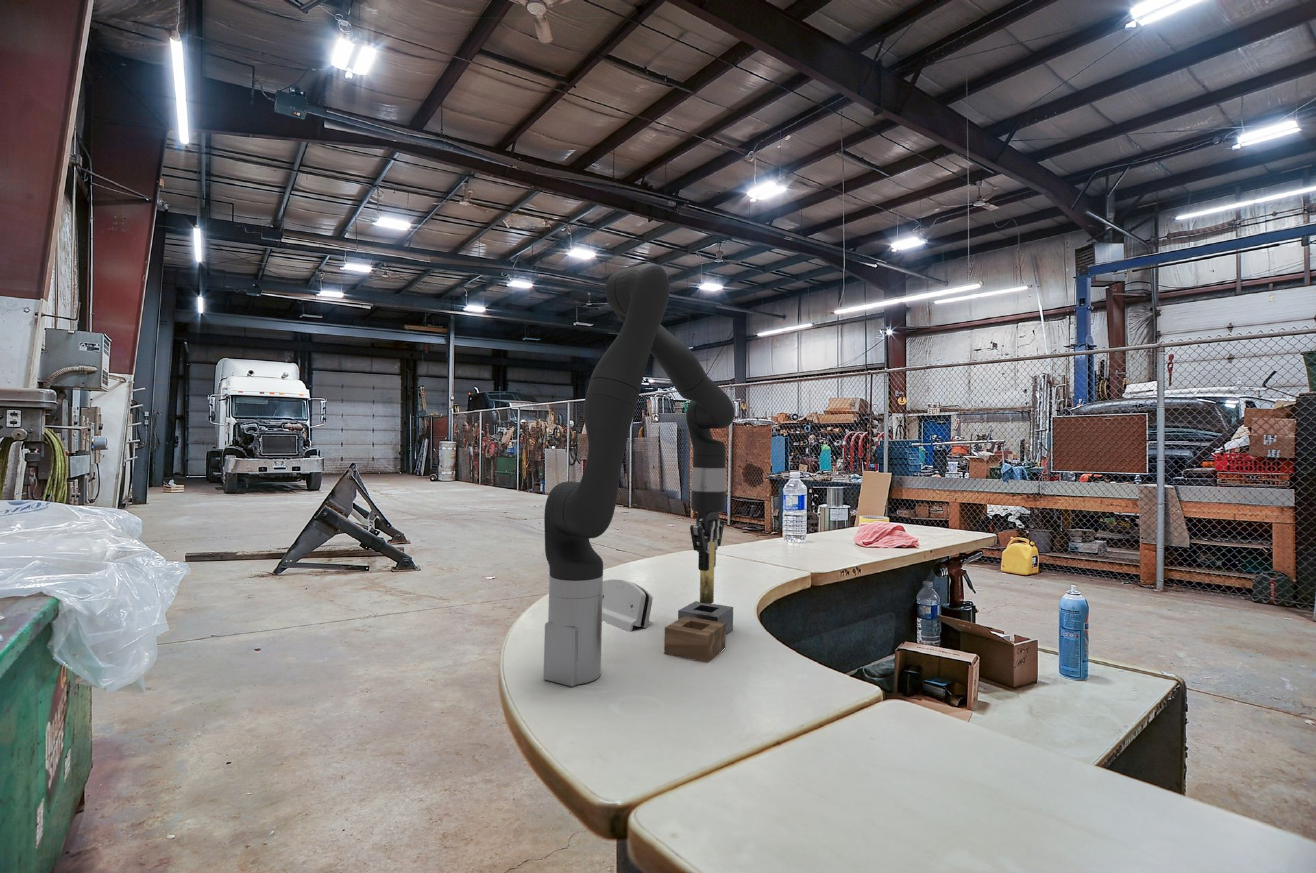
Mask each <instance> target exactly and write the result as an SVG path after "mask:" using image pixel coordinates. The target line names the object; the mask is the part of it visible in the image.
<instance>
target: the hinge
mask: <svg viewBox="0 0 1316 873" xmlns="http://www.w3.org/2000/svg"><path fill="white" fill-rule="evenodd" d="M653 599H654V597H653V595H651V593H650V592H648V591H647V590H646V589H645V588H644V587H642V586H640V585H638V584H636V583H634V582H631V581H629V580H624V579H606V580H603V593H602V622H603V621H605V622H606V624H608V625H610V624H611V626H613V627H616V628H618V629H620V630H624V631H626V632H629V633H631V632H632V631H633V628H634V626H635V627H640V628H643V629H648V628H649V622H650V616H651V610H652V606H653V602H654V601H653ZM605 622H604V623H605Z"/></svg>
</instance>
